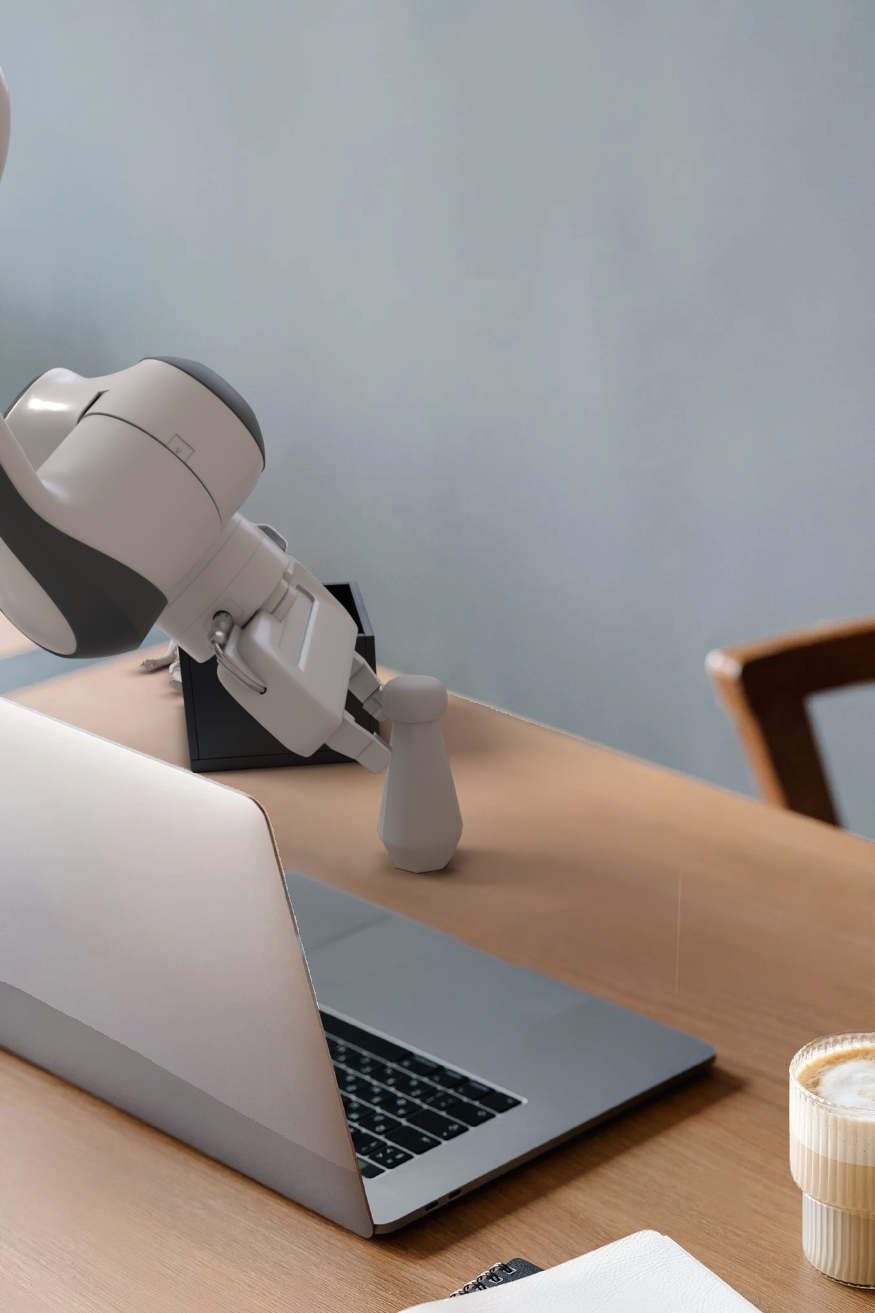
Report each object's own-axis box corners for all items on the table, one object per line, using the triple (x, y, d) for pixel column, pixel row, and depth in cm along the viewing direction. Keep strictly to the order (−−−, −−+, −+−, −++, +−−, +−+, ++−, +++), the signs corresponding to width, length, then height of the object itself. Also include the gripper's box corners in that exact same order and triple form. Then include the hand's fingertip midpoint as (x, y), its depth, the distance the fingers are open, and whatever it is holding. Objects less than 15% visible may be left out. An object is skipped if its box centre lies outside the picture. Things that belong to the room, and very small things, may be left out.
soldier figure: (145, 707, 152) (121, 624, 159) (189, 734, 155) (163, 651, 163) (207, 646, 150) (180, 565, 157) (250, 675, 153) (222, 594, 161)
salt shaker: (386, 840, 127) (377, 663, 121) (468, 843, 127) (463, 666, 121) (373, 876, 122) (362, 693, 116) (457, 879, 122) (451, 696, 115)
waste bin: (191, 772, 137) (177, 645, 132) (188, 707, 149) (176, 589, 145) (381, 759, 140) (374, 635, 135) (363, 696, 152) (356, 580, 148)
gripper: (239, 607, 104) (417, 763, 109) (272, 517, 122) (424, 655, 127) (168, 682, 106) (347, 831, 111) (212, 583, 123) (364, 716, 129)
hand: (388, 736), depth 119 cm, fingers open, 8 cm apart
